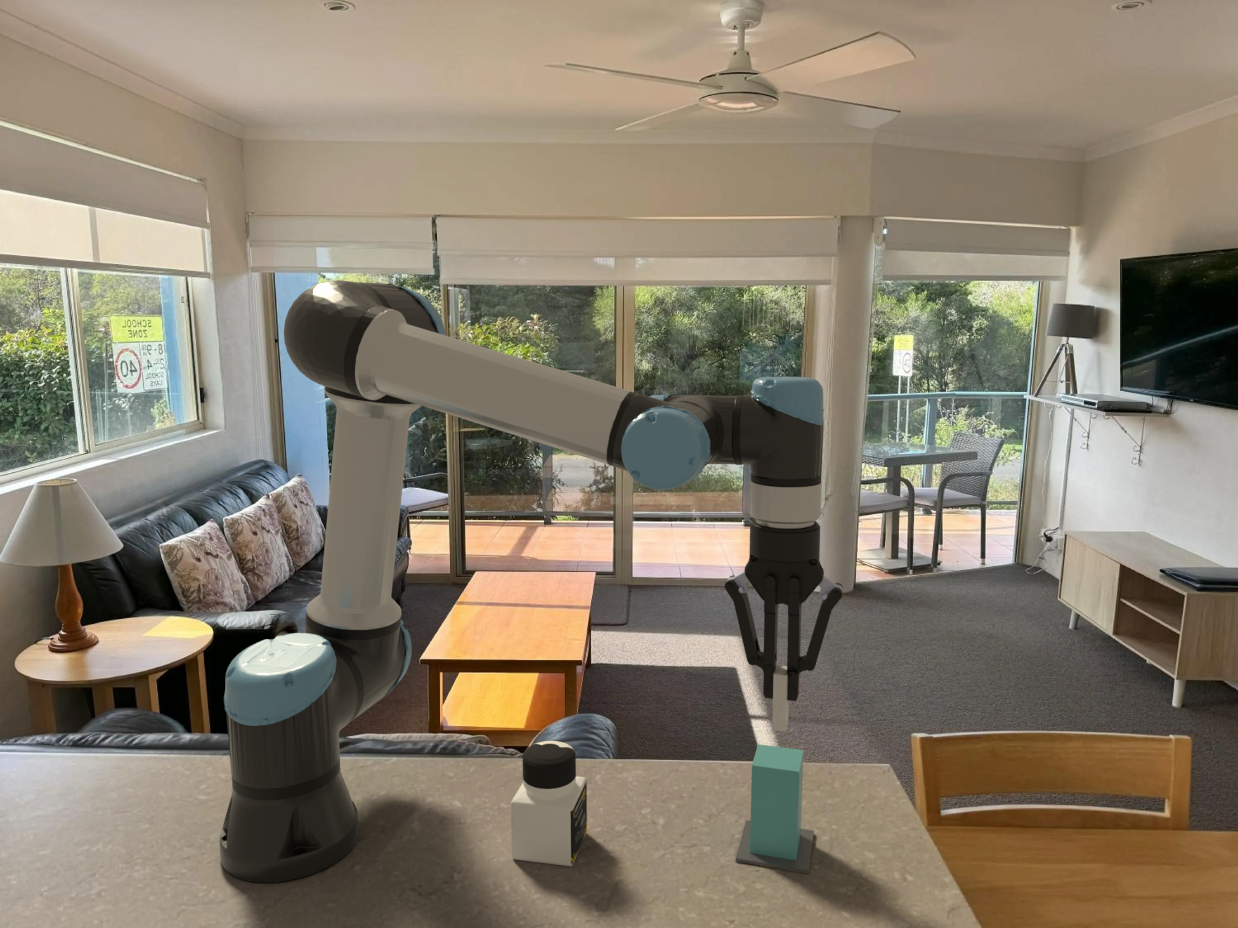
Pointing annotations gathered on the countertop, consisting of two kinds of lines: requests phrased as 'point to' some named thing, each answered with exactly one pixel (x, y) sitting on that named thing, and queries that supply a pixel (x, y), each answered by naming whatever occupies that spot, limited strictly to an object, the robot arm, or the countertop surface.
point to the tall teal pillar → (776, 801)
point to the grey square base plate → (776, 862)
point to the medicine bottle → (549, 806)
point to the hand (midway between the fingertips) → (780, 725)
